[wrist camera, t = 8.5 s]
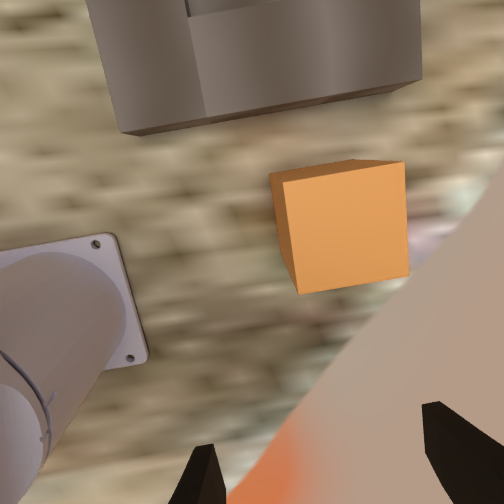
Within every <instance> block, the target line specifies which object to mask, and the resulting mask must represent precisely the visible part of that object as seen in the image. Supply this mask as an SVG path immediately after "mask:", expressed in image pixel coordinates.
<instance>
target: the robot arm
mask: <svg viewBox="0 0 504 504" xmlns="http://www.w3.org/2000/svg"><path fill="white" fill-rule="evenodd" d="M94 240H97V241H99V242H100V244H101V247H100V248H97V247H96V246H95V245H94ZM128 355H133V356H134V357H135V358H134V359H131V358H129V357H128ZM148 356H149V353H148V349H147V346H146V342H145V339H144V335H143V332H142V328H141V325H140V321H139V318H138V314H137V311H136V307H135V304H134V300H133V297H132V293H131V290H130V286H129V283H128V279H127V276H126V272H125V269H124V265H123V262H122V258H121V255H120V251H119V248H118V244H117V241H116V239H115V237H114V236H113V235H112V234H110V233H100V234H95V235H89V236H83V237H78V238H72V239H66V240H60V241H55V242H49V243H43V244H38V245H32V246H26V247H21V248H15V249H9V250H3V251H0V504H17V503H18V502H19V501H20V500H21V498H22V497H23V496H24V494H25V493H26V492H27V490H28V489H29V487H30V486H31V484H32V483H33V481H34V480H35V478H36V476H37V475H38V473H39V471H40V470H41V468H42V467H43V465H44V464H45V462H46V460H47V459H48V457H49V456H50V454H51V452H52V451H53V449H54V448H55V446H56V444H57V443H58V441H59V440H60V438H61V436H62V435H63V433H64V432H65V430H66V428H67V427H68V425H69V424H70V422H71V420H72V419H73V417H74V416H75V414H76V412H77V411H78V409H79V408H80V406H81V404H82V403H83V401H84V400H85V398H86V396H87V395H88V393H89V392H90V390H91V388H92V387H93V385H94V384H95V382H96V380H97V379H98V377H99V376H100V374H101V372H102V371H103V370H109V369H115V368H121V367H126V366H132V365H138V364H142V363H144V362H146V360H147V358H148ZM422 416H423V430H424V443H425V453H426V455H427V457H428V459H429V461H430V463H431V465H432V467H433V469H434V471H435V473H436V475H437V477H438V479H439V481H440V483H441V485H442V486H443V488H444V489H445V491H446V493H447V494H448V496H449V497H450V499H451V500H452V502H453V504H504V446H502V445H501V444H500V443H498V442H497V441H495V440H494V439H492V438H491V437H489V436H488V435H486V434H485V433H483V432H482V431H481V430H479V429H478V428H476V427H475V426H474V425H472V424H471V423H469V422H468V421H467V420H465V419H464V418H462V417H461V416H460V415H458V414H457V413H456V412H454V411H453V410H451V409H450V408H448V407H447V406H446V405H444V404H443V403H441V402H440V401H438V402H432V403H427V404H422ZM168 504H226V487H225V484H224V480H223V477H222V473H221V470H220V466H219V463H218V459H217V456H216V452H215V448H214V445H213V444H208V445H202V446H197V447H195V448H194V450H193V452H192V454H191V457H190V459H189V461H188V463H187V466H186V468H185V470H184V472H183V474H182V477H181V479H180V481H179V483H178V485H177V487H176V489H175V491H174V493H173V495H172V497H171V499H170V501H169V503H168Z"/></svg>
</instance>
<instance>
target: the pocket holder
mask: <svg viewBox="0 0 504 504" xmlns="http://www.w3.org/2000/svg"><path fill="white" fill-rule="evenodd" d="M86 4H87V7H88V11H89V15H90V19H91V23H92V27H93V31H94V34H95V38H96V42H97V46H98V50H99V54H100V57H101V61H102V65H103V69H104V73H105V77H106V80H107V84H108V88H109V92H110V96H111V100H112V104H113V107H114V111H115V115H116V119H117V123H118V127H119V130H120V133H124V134H129V135H135V136H144V135H149V134H155V133H161V132H166V131H172V130H178V129H183V128H189V127H194V126H200V125H206V124H211V123H217V122H223V121H228V120H234V119H239V118H245V117H251V116H256V115H262V114H268V113H273V112H279V111H284V110H290V109H296V108H301V107H307V106H313V105H318V104H324V103H329V102H335V101H341V100H346V99H352V98H358V97H363V96H369V95H375V94H380V93H386V92H391V91H394V90H397V89H399V88H402V87H404V86H407V85H409V84H411V83H414V82H416V81H419V80H421V79H422V50H421V19H420V0H86Z"/></svg>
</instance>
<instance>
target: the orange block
mask: <svg viewBox="0 0 504 504" xmlns="http://www.w3.org/2000/svg"><path fill="white" fill-rule="evenodd" d="M269 177H270V184H271V190H272V197H273V204H274V210H275V217H276V224H277V231H278V237H279V244H280V251H281V255H282V257H283V260H284V262H285V264H286V267H287V269H288V271H289V274H290V276H291V278H292V281H293V283H294V286H295V288H296V290H297V293H298V295H301V294H306V293H312V292H318V291H324V290H330V289H336V288H342V287H348V286H354V285H360V284H365V283H371V282H377V281H383V280H389V279H395V278H401V277H407V276H409V258H408V235H407V213H406V190H405V168H404V162H401V161H379V160H356V159H352V160H346V161H340V162H334V163H329V164H323V165H317V166H311V167H305V168H300V169H294V170H288V171H282V172H277V173H271V174H269Z"/></svg>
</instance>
